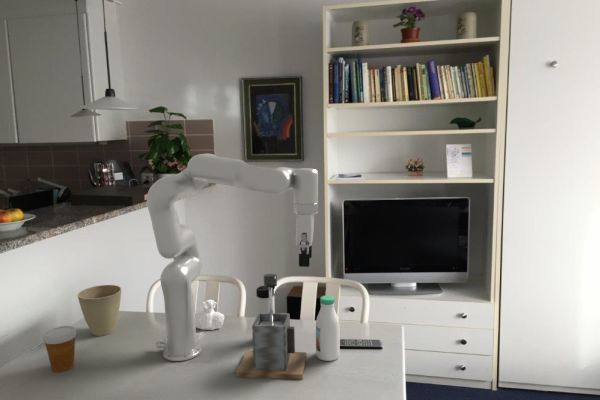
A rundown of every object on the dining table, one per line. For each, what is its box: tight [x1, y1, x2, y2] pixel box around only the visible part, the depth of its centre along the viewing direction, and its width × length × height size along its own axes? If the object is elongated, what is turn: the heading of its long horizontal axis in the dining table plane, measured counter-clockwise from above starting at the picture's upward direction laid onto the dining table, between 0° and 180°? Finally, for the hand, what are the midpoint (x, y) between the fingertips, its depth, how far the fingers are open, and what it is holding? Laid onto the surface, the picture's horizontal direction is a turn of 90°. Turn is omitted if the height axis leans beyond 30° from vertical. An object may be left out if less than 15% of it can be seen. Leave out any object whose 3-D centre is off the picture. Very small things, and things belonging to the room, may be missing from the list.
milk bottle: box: [315, 295, 341, 362], centre depth 148 cm, size 8×8×20 cm
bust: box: [195, 299, 225, 331], centre depth 174 cm, size 12×8×11 cm
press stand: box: [235, 312, 307, 380], centre depth 142 cm, size 20×14×16 cm
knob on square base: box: [259, 273, 285, 326], centre depth 140 cm, size 8×8×17 cm
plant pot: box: [77, 284, 122, 337], centre depth 170 cm, size 15×15×16 cm
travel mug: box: [255, 285, 276, 316], centre depth 160 cm, size 6×7×20 cm
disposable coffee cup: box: [42, 325, 78, 373], centre depth 144 cm, size 10×10×12 cm
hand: (305, 261), depth 143 cm, fingers open, 9 cm apart
